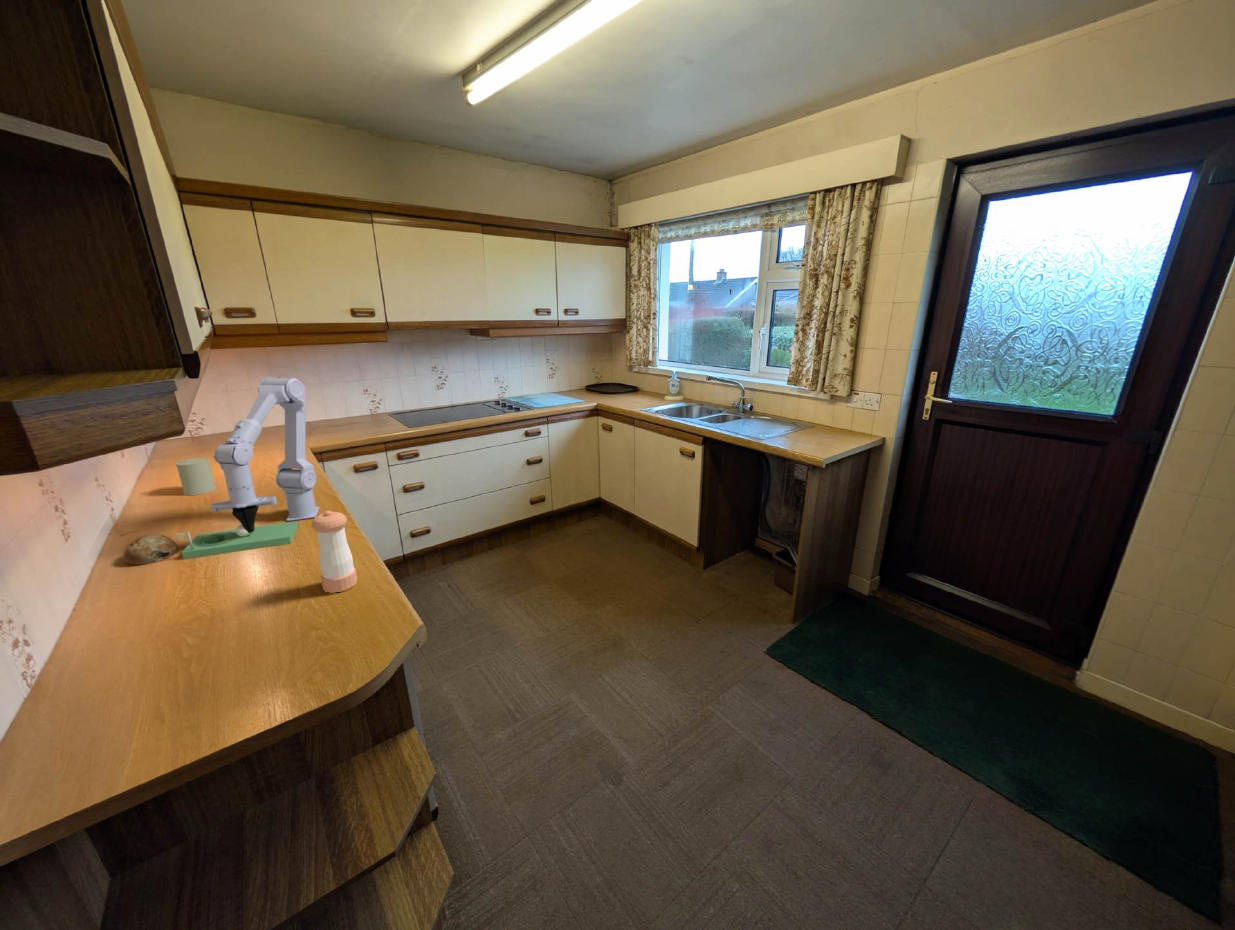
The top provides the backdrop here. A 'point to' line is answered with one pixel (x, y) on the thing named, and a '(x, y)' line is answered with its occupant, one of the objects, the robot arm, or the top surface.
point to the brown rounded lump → (150, 549)
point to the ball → (241, 531)
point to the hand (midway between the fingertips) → (250, 531)
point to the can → (196, 476)
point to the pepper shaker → (334, 552)
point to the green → (238, 540)
